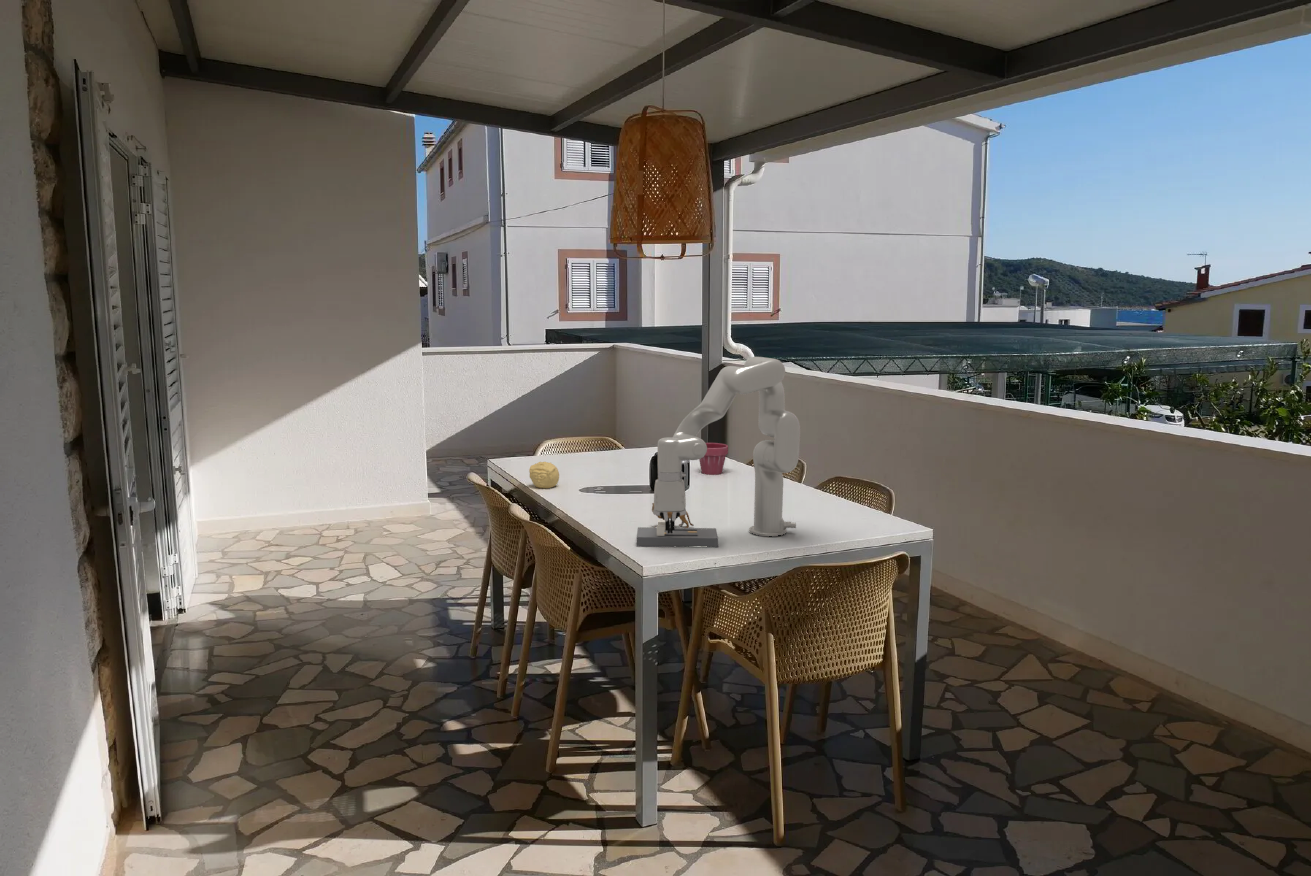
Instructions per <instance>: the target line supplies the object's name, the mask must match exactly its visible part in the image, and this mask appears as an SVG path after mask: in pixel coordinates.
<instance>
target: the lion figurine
mask: <svg viewBox="0 0 1311 876" xmlns="http://www.w3.org/2000/svg"><path fill="white" fill-rule="evenodd" d="M653 511H654V502H653V503H652V506H651V512H652V513H653ZM667 514H668V517H669V520H671V517H672V512H667ZM655 516H656V517H657V518H658V519H659V520H664V519H663V518H662V517H661V516H658V515H655ZM678 518H679V520H680V521H681V522H680V523H679V524H678V526H679V527H683V525H684V524H685V526H684V528H690V526H692V527H694V526H695V525H694V524H693V523H692V522H691V519H690V515H689V513H688V511H687V510H686V514H685V515H680V516H679V517H678Z"/></svg>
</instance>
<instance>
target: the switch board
mask: <svg viewBox="0 0 1311 876" xmlns="http://www.w3.org/2000/svg"><path fill="white" fill-rule="evenodd" d="M672 532H673V533H668V530H666V531H665V534H664V536H657V527H650V526H649V527H641V526H638V527H637V532H636V547H646V548H647V547H650V548H652V547H656V548H657V547H661V548H663V547H666V548H667V547H668V548H669V547H670V548H690V547H689V546H707V547H706V548H718V547H719V537H718V532H717V528H715V527H713V528H712V527H709V528H708V527H689V528H685V527H675V530H672ZM674 546H676V547H674ZM686 546H688V547H686Z"/></svg>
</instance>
